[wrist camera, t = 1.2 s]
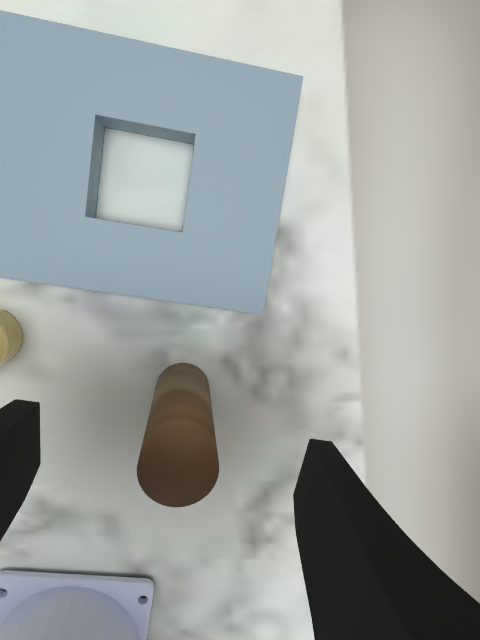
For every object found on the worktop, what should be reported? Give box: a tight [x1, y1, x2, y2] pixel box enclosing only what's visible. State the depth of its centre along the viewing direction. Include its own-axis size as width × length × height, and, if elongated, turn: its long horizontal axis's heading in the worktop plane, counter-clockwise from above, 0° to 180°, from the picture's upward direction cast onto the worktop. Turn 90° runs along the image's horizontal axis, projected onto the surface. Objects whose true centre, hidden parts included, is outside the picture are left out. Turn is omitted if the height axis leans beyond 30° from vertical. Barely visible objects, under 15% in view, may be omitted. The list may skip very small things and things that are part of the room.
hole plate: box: [0, 10, 303, 315], centre depth 19 cm, size 10×12×2 cm
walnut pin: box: [137, 363, 219, 507], centre depth 18 cm, size 3×3×8 cm
